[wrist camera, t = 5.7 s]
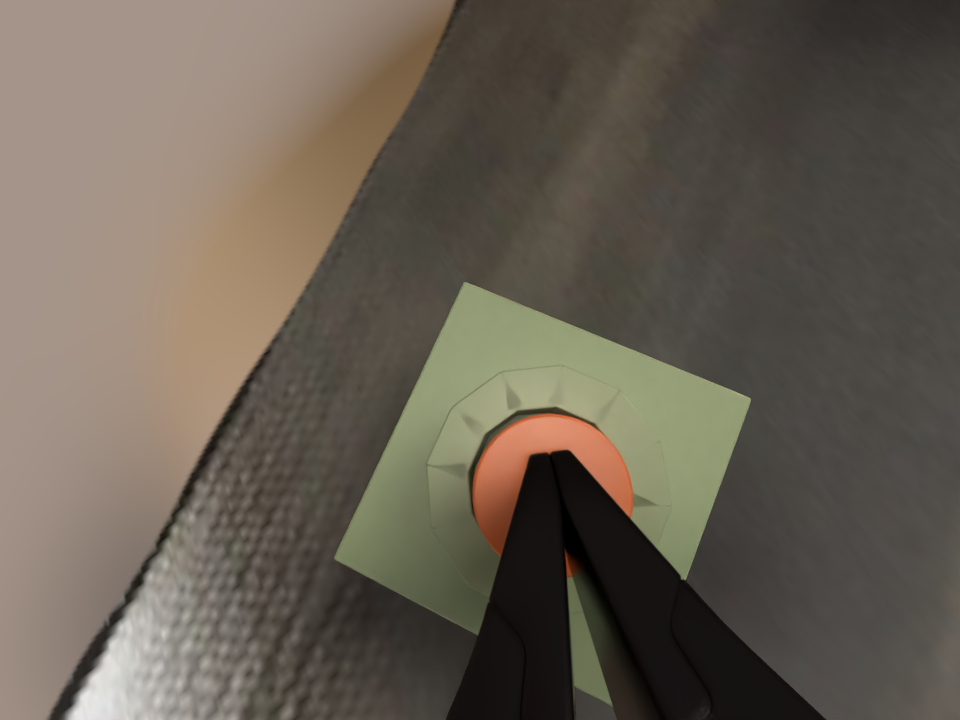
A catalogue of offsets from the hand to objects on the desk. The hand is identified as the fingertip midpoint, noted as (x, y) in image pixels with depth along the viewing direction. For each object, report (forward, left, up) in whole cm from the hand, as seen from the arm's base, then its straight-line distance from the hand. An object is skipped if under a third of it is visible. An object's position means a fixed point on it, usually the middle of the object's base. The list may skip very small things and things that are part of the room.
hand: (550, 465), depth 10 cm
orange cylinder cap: (-1, 0, -3) cm, 3 cm away
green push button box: (-1, 0, -11) cm, 11 cm away
